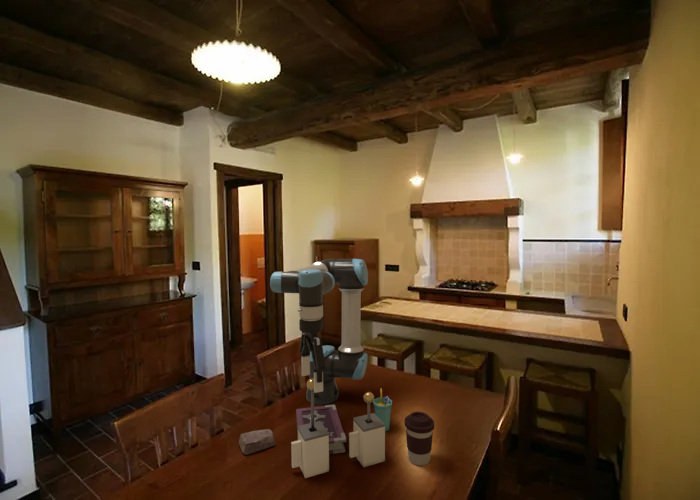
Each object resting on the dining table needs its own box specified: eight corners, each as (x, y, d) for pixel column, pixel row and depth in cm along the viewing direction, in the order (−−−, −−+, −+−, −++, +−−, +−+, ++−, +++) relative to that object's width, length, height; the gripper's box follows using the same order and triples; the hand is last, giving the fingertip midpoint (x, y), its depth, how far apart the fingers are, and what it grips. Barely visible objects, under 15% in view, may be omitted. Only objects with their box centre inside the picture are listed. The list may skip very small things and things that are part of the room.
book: (346, 452, 125) (346, 439, 125) (300, 459, 122) (300, 445, 122) (335, 416, 150) (334, 404, 150) (296, 420, 147) (296, 408, 146)
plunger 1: (304, 439, 118) (303, 377, 117) (317, 436, 120) (316, 374, 118) (308, 447, 114) (307, 382, 112) (321, 444, 115) (321, 380, 114)
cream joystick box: (289, 465, 118) (288, 428, 117) (320, 456, 122) (320, 420, 122) (295, 481, 111) (294, 441, 110) (328, 471, 115) (328, 432, 114)
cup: (399, 437, 133) (400, 398, 133) (380, 440, 131) (380, 401, 131) (386, 418, 147) (386, 382, 146) (368, 421, 145) (368, 385, 144)
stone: (269, 434, 136) (269, 422, 136) (277, 447, 129) (277, 434, 128) (237, 444, 130) (237, 431, 130) (244, 458, 123) (243, 444, 122)
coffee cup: (428, 473, 114) (428, 427, 113) (399, 462, 119) (399, 419, 118) (438, 456, 122) (438, 413, 121) (411, 446, 128) (411, 406, 127)
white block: (345, 455, 123) (345, 419, 122) (373, 447, 127) (373, 412, 127) (355, 470, 116) (354, 432, 115) (384, 460, 120) (384, 424, 119)
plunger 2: (360, 450, 123) (359, 390, 122) (371, 447, 125) (371, 388, 124) (365, 458, 119) (365, 396, 118) (378, 454, 121) (377, 394, 120)
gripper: (289, 311, 124) (290, 371, 125) (311, 329, 101) (312, 402, 102) (310, 309, 127) (311, 367, 128) (336, 326, 104) (336, 397, 105)
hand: (311, 383), depth 115 cm, fingers open, 13 cm apart
